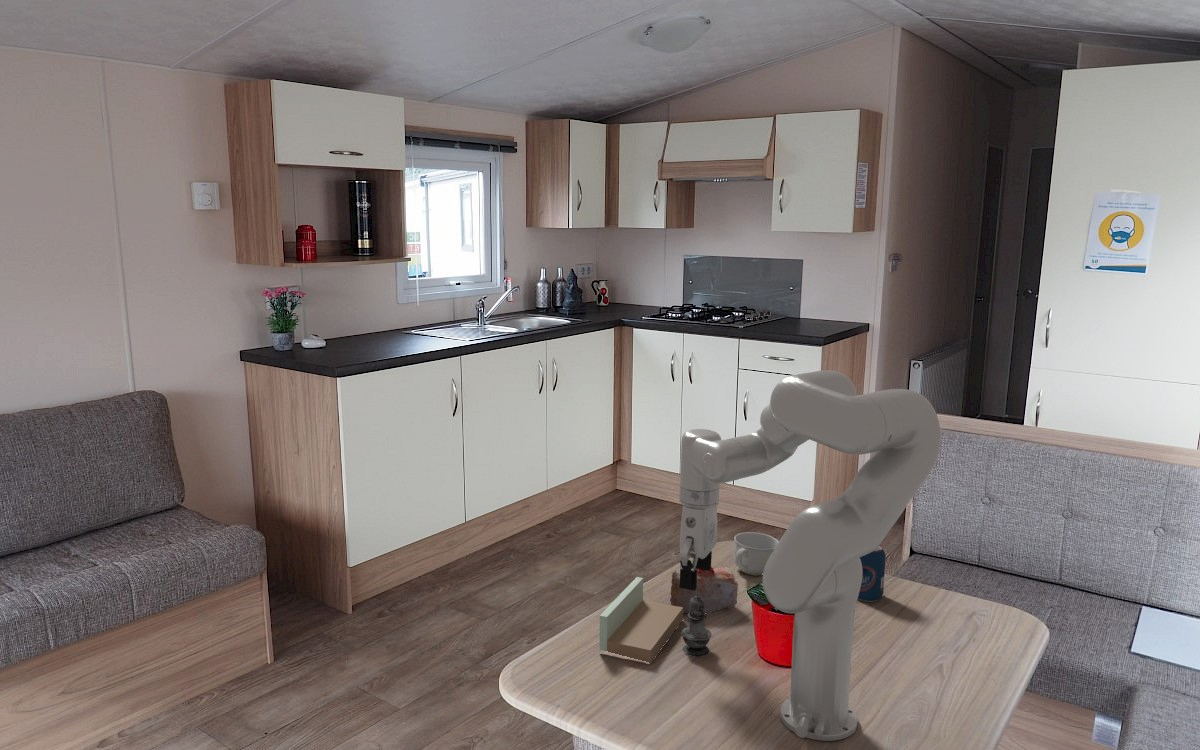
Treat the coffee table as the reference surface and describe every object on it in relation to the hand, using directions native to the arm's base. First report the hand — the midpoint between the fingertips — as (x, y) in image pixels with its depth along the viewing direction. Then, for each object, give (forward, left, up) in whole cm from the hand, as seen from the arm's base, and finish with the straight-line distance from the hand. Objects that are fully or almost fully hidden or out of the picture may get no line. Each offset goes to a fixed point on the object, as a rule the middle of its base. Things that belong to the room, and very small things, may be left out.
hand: (695, 578), depth 166 cm
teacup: (+42, -2, -15) cm, 44 cm away
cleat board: (+1, +10, -15) cm, 18 cm away
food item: (+19, +4, -15) cm, 24 cm away
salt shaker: (0, -1, -15) cm, 15 cm away
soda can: (+39, -29, -15) cm, 50 cm away
